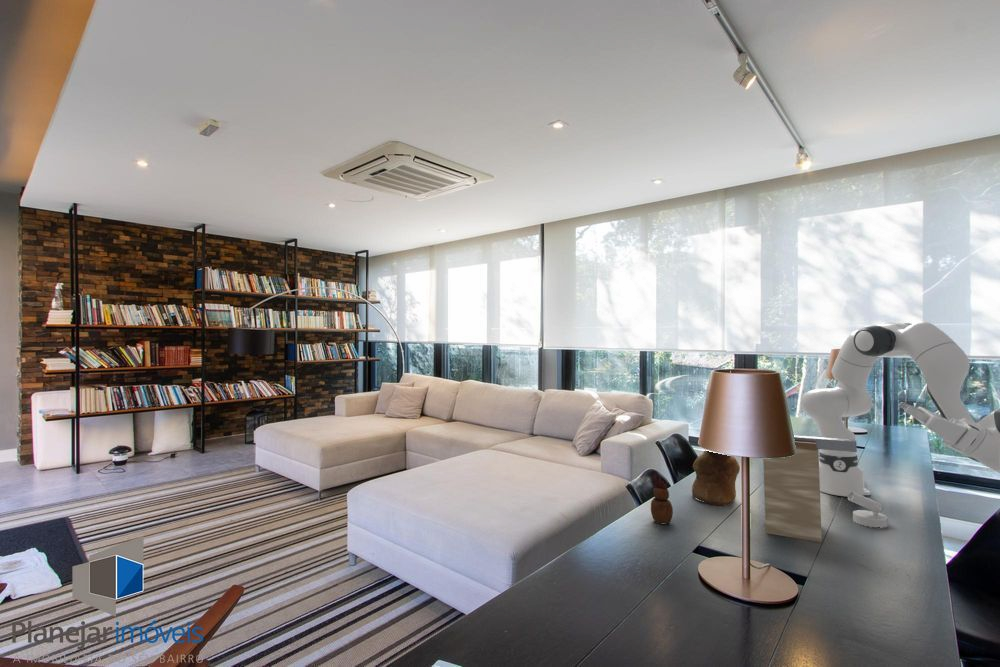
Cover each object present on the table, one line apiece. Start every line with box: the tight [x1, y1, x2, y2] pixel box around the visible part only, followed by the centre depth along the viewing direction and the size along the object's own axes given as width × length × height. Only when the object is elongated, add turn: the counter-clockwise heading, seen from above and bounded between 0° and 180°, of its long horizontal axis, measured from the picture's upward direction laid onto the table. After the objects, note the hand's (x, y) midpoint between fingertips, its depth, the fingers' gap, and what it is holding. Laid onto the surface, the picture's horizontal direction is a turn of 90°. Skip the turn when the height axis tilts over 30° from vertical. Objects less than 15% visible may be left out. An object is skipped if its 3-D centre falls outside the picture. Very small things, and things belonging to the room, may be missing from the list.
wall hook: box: [847, 492, 889, 529], centre depth 149 cm, size 9×10×10 cm
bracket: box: [793, 434, 858, 453], centre depth 140 cm, size 3×20×8 cm, turn 58°
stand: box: [762, 441, 823, 543], centre depth 146 cm, size 14×14×28 cm
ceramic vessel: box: [691, 450, 741, 506], centre depth 171 cm, size 16×22×30 cm
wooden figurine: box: [650, 474, 674, 524], centre depth 153 cm, size 7×6×15 cm
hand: (902, 406), depth 134 cm, fingers open, 8 cm apart
